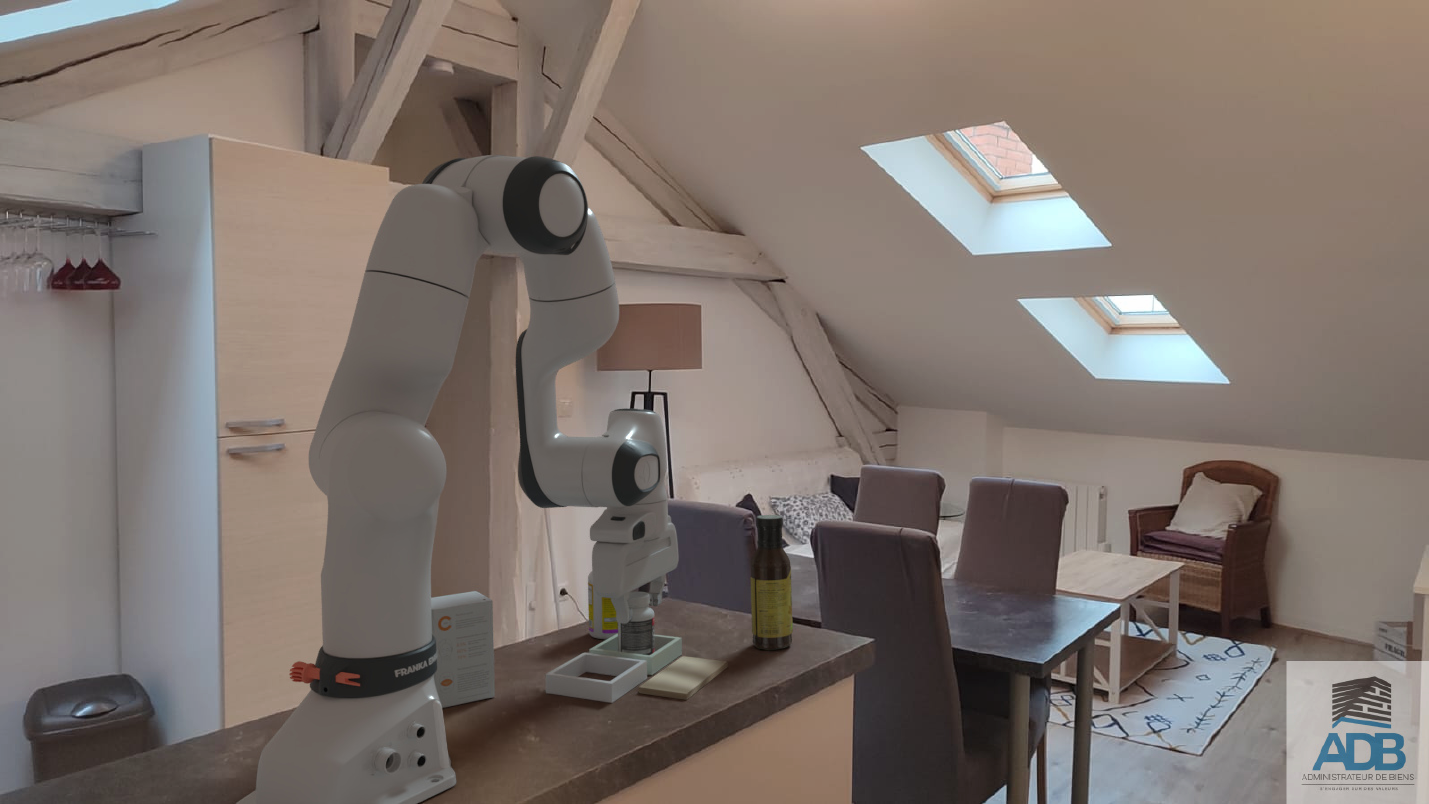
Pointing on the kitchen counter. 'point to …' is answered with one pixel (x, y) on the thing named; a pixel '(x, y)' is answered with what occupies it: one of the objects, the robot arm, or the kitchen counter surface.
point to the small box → (463, 647)
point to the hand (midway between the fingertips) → (640, 613)
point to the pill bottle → (638, 626)
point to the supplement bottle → (600, 614)
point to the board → (683, 677)
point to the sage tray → (663, 655)
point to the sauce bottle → (771, 587)
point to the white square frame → (607, 691)
